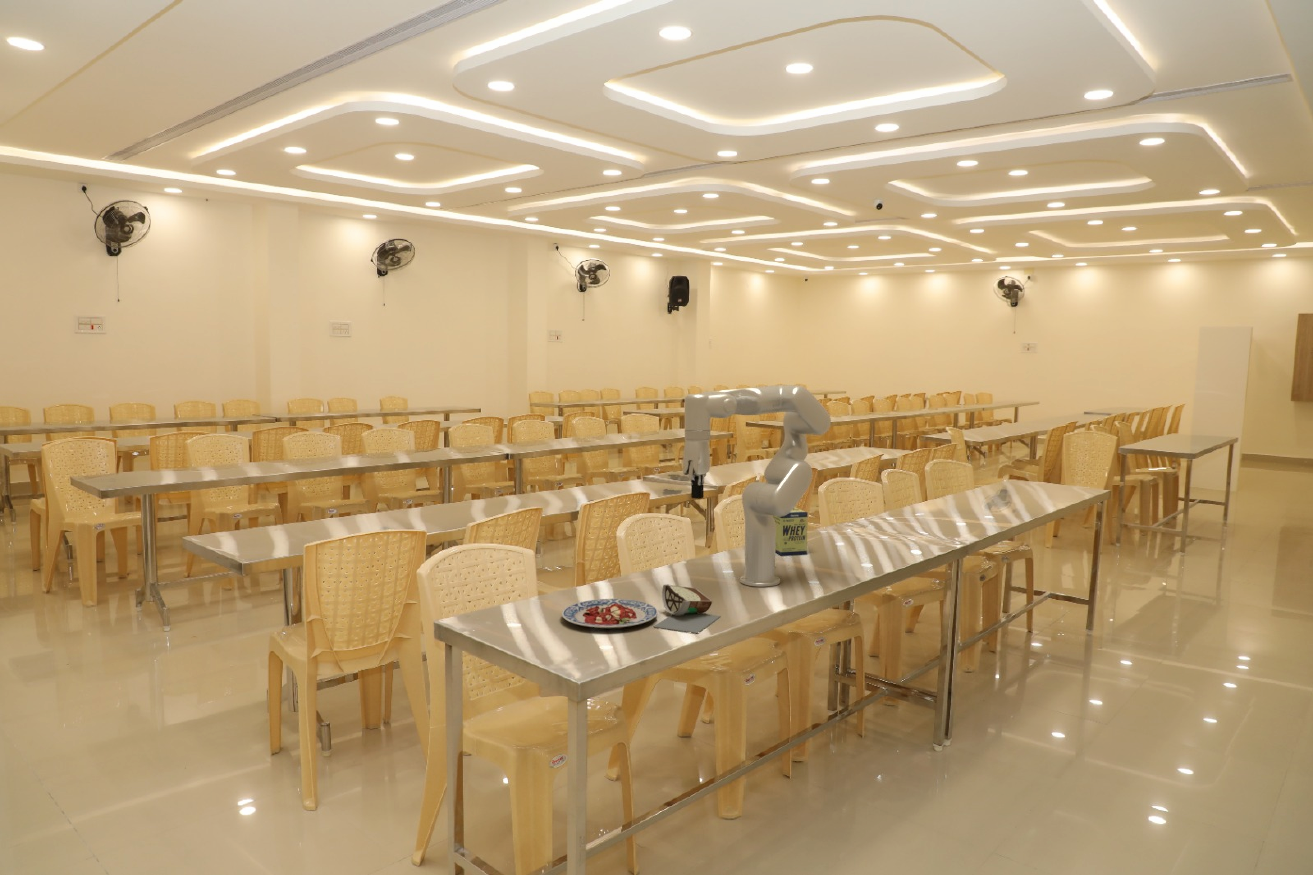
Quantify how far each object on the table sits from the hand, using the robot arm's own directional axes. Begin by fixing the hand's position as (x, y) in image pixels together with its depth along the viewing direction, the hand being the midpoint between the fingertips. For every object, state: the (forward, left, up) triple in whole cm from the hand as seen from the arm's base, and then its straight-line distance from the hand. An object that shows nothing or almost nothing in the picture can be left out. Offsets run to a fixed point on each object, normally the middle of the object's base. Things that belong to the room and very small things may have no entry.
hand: (697, 498), depth 251 cm
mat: (+26, +8, -29) cm, 40 cm away
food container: (+15, +8, -27) cm, 32 cm away
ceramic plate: (+32, -12, -30) cm, 45 cm away
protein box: (-69, +6, -29) cm, 75 cm away
